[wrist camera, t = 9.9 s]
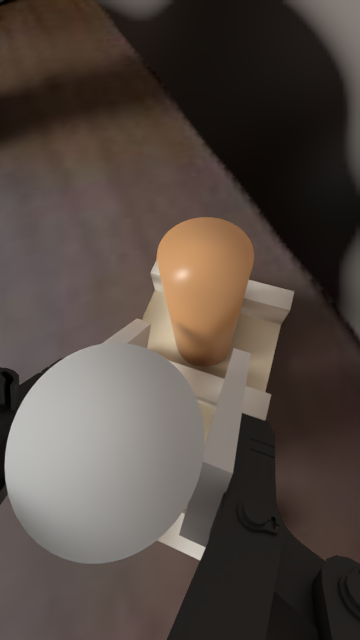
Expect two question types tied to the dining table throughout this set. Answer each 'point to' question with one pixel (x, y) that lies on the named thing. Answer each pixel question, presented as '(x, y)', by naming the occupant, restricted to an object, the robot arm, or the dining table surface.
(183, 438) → the grey plug
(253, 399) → the rack
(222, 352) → the orange plug
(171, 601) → the dining table surface
